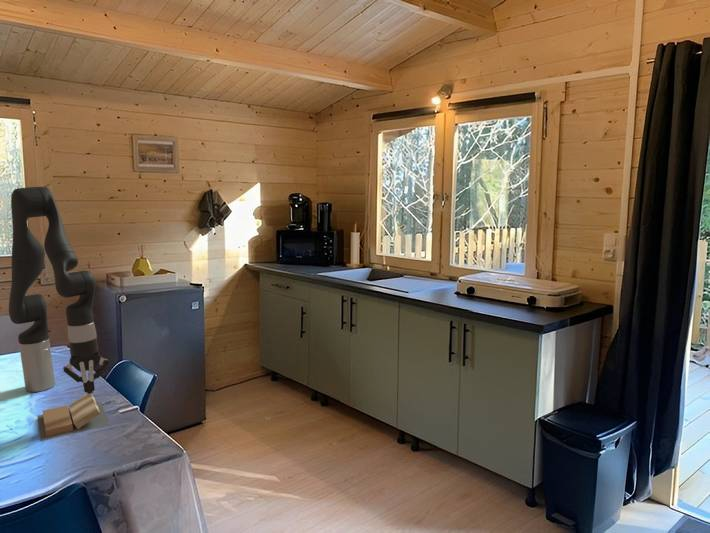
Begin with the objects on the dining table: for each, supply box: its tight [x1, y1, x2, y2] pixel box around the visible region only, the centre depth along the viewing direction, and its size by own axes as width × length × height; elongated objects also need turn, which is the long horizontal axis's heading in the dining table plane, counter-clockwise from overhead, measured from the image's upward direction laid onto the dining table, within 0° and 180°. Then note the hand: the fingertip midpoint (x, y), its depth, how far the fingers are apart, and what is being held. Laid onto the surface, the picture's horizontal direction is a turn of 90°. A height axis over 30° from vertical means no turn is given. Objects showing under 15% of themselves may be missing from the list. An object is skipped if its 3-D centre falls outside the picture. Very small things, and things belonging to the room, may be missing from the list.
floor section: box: [37, 401, 111, 442], centre depth 168 cm, size 20×18×3 cm
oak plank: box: [68, 393, 100, 429], centre depth 169 cm, size 16×7×2 cm, turn 32°
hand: (89, 392), depth 169 cm, fingers closed
